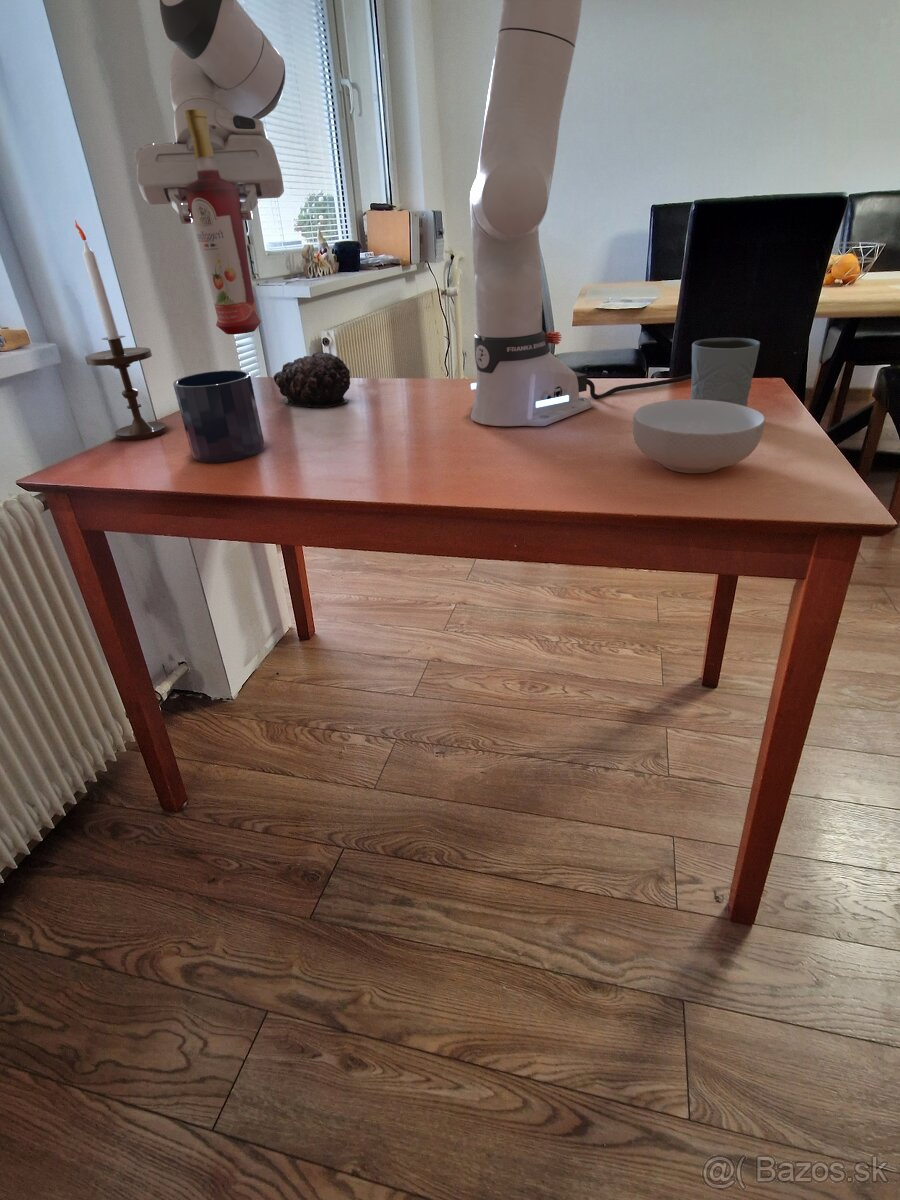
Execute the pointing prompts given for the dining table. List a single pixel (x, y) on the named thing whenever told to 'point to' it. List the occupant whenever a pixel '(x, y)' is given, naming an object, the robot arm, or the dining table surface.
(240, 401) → the dark blue plant pot
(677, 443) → the cereal bowl
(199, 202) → the liquor
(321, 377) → the pine cone
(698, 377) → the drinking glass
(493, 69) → the robot arm
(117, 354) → the candlestick
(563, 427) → the dining table surface
